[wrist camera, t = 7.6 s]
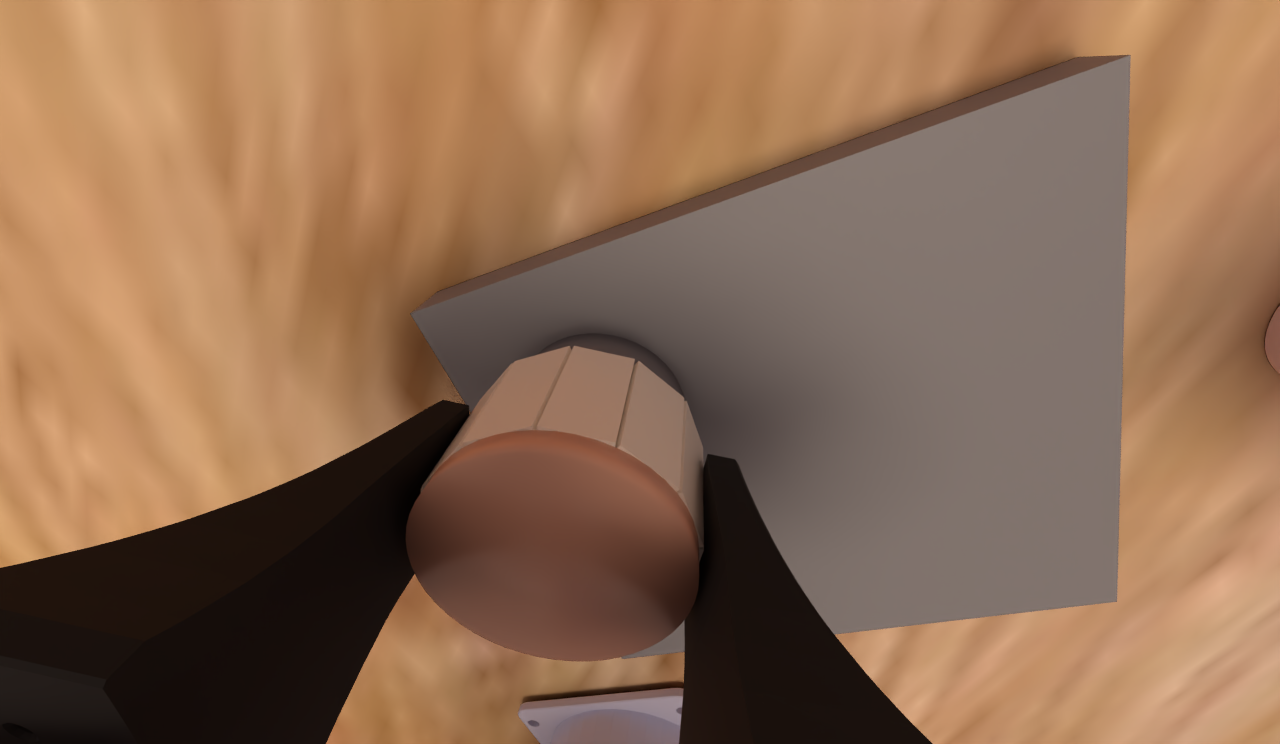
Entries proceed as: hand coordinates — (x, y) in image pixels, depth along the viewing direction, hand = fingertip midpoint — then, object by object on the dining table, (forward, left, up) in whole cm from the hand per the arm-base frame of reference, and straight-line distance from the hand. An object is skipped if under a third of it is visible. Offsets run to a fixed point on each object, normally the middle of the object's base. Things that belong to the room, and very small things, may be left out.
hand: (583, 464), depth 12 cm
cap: (0, 0, -1) cm, 1 cm away
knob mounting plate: (-3, -4, -4) cm, 6 cm away
